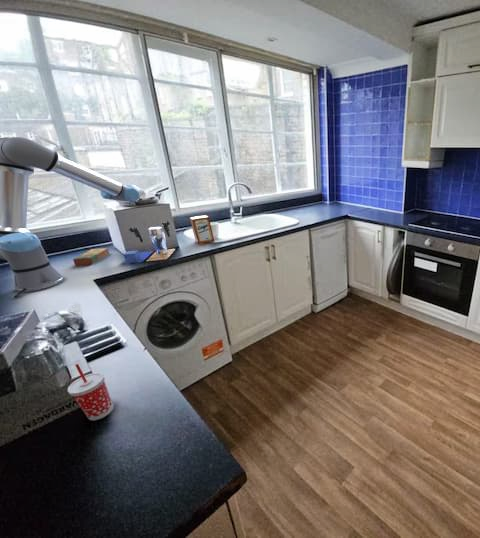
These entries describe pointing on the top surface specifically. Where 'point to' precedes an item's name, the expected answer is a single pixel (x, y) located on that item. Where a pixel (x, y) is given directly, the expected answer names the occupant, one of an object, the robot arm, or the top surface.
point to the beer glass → (158, 240)
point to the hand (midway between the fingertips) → (155, 238)
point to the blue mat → (142, 256)
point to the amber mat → (160, 257)
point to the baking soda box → (202, 229)
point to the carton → (90, 257)
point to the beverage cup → (91, 395)
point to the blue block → (132, 256)
